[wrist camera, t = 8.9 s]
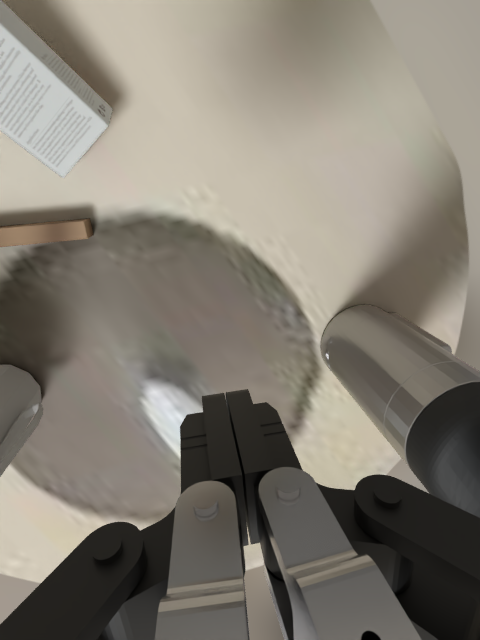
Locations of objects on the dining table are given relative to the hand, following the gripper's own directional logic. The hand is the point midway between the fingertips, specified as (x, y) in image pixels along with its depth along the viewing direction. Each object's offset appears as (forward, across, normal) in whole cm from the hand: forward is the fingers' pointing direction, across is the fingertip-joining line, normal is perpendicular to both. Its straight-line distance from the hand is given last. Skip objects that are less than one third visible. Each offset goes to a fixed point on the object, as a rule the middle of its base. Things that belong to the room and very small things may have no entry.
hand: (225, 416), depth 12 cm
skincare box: (+24, +7, -10) cm, 27 cm away
